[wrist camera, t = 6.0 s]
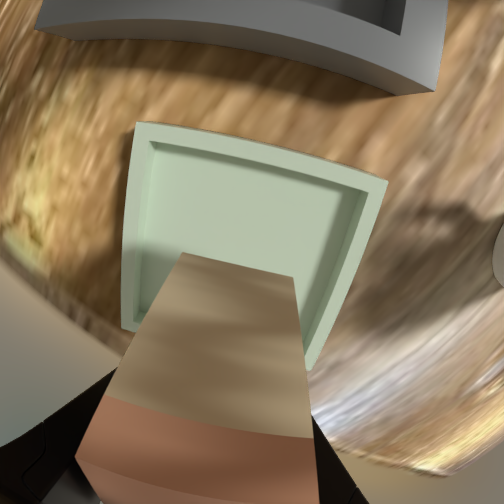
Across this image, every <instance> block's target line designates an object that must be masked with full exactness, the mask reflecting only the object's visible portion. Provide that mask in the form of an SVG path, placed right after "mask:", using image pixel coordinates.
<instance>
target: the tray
mask: <svg viewBox="0 0 504 504" xmlns="http://www.w3.org/2000/svg"><path fill="white" fill-rule="evenodd" d="M387 185H388V181H387V180H385V179H383V178H381V177H379V176H377V175H375V174H372V173H369V172H366V171H363V170H360V169H357V168H354V167H351V166H348V165H345V164H341V163H338V162H335V161H332V160H328V159H325V158H321V157H318V156H314V155H311V154H307V153H304V152H300V151H296V150H292V149H289V148H285V147H281V146H277V145H273V144H269V143H265V142H260V141H256V140H252V139H247V138H243V137H238V136H233V135H229V134H224V133H219V132H213V131H208V130H203V129H197V128H191V127H186V126H179V125H173V124H167V123H160V122H153V121H140V122H136V127H135V132H134V139H133V145H132V152H131V159H130V166H129V174H128V182H127V191H126V201H125V212H124V225H123V240H122V262H121V328H122V329H125V330H129V331H132V332H135V333H136V332H137V330H138V328H139V326H140V325H141V323H142V321H143V319H144V317H145V316H146V314H147V312H148V310H149V308H150V307H151V305H152V303H153V301H154V300H155V298H156V296H157V294H158V293H159V291H160V289H161V287H162V286H163V284H164V282H165V280H166V279H167V277H168V275H169V274H170V272H171V270H172V268H173V267H174V265H175V263H176V262H177V260H178V258H179V257H180V255H181V253H182V252H185V253H189V254H194V255H198V256H202V257H206V258H211V259H215V260H219V261H224V262H228V263H232V264H237V265H241V266H246V267H250V268H254V269H259V270H263V271H268V272H272V273H277V274H281V275H286V276H290V277H293V279H294V286H295V293H296V300H297V307H298V314H299V321H300V328H301V335H302V343H303V351H304V358H305V366H306V370H310V371H311V370H312V368H313V366H314V364H315V362H316V360H317V358H318V356H319V354H320V352H321V350H322V347H323V345H324V343H325V341H326V339H327V337H328V335H329V333H330V331H331V328H332V326H333V324H334V322H335V320H336V317H337V315H338V313H339V311H340V309H341V306H342V304H343V302H344V299H345V297H346V295H347V292H348V290H349V288H350V285H351V283H352V280H353V278H354V276H355V273H356V271H357V268H358V266H359V263H360V261H361V258H362V256H363V253H364V250H365V248H366V245H367V242H368V240H369V237H370V234H371V232H372V229H373V226H374V223H375V220H376V218H377V215H378V212H379V209H380V206H381V203H382V200H383V197H384V194H385V191H386V188H387Z"/></svg>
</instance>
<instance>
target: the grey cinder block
mask: <svg viewBox="0 0 504 504" xmlns="http://www.w3.org/2000/svg"><path fill="white" fill-rule="evenodd" d="M447 9H448V0H44V1H43V3H42V6H41V9H40V12H39V15H38V18H37V21H36V25H35V28H34V30H38V31H42V32H46V33H50V34H54V35H57V36H61V37H64V38H68V39H71V40H74V41H82V40H99V39H154V40H171V41H184V42H194V43H203V44H211V45H218V46H225V47H231V48H237V49H243V50H249V51H254V52H259V53H264V54H268V55H273V56H277V57H281V58H286V59H290V60H294V61H297V62H301V63H305V64H309V65H312V66H316V67H319V68H322V69H326V70H329V71H332V72H335V73H338V74H341V75H344V76H347V77H350V78H353V79H356V80H358V81H361V82H364V83H366V84H369V85H372V86H374V87H377V88H379V89H382V90H384V91H387V92H389V93H392V94H394V95H396V96H401V95H409V94H417V93H425V92H435V90H436V85H437V80H438V74H439V69H440V63H441V57H442V50H443V44H444V36H445V28H446V20H447Z"/></svg>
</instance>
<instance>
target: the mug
mask: <svg viewBox="0 0 504 504" xmlns="http://www.w3.org/2000/svg"><path fill="white" fill-rule="evenodd" d="M492 267H493V272H494V275H495V277H496V279H497V281H498V282H499V283H500V284H501V285H502V286H503V287H504V224H503V226H502V228H501V229H500V232H499V234H498V236H497V239H496V242H495V245H494V249H493V256H492Z"/></svg>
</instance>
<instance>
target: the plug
mask: <svg viewBox="0 0 504 504" xmlns="http://www.w3.org/2000/svg"><path fill="white" fill-rule="evenodd" d="M75 458H76V460H77V462H78V464H79V466H80V467H81V469H82V471H83V472H84V474H85V476H86V477H87V479H88V481H89V482H90V484H91V486H92V487H93V489H94V490H95V492H96V493H97V495H98V497H99V498H100V500H101V501H102V502H103V504H319V493H318V480H317V469H316V458H315V447H314V437H313V427H312V418H311V409H310V400H309V391H308V383H307V374H306V366H305V358H304V351H303V343H302V335H301V328H300V321H299V314H298V307H297V300H296V293H295V286H294V279H293V277H290V276H286V275H281V274H277V273H272V272H268V271H263V270H259V269H254V268H250V267H246V266H241V265H237V264H232V263H228V262H224V261H219V260H215V259H211V258H206V257H202V256H198V255H194V254H189V253H185V252H182V253H181V255H180V257H179V258H178V260H177V262H176V263H175V265H174V267H173V268H172V270H171V272H170V274H169V275H168V277H167V279H166V280H165V282H164V284H163V286H162V287H161V289H160V291H159V293H158V294H157V296H156V298H155V300H154V301H153V303H152V305H151V307H150V308H149V310H148V312H147V314H146V316H145V317H144V319H143V321H142V323H141V325H140V326H139V328H138V330H137V332H136V334H135V336H134V337H133V339H132V341H131V343H130V345H129V347H128V349H127V350H126V352H125V354H124V356H123V358H122V360H121V362H120V364H119V366H118V368H117V370H116V372H115V373H114V375H113V377H112V379H111V381H110V383H109V385H108V387H107V389H106V391H105V393H104V395H103V397H102V399H101V401H100V403H99V406H98V408H97V410H96V412H95V414H94V416H93V418H92V420H91V422H90V424H89V426H88V429H87V431H86V433H85V435H84V437H83V439H82V442H81V444H80V446H79V448H78V451H77V453H76V455H75Z"/></svg>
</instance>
